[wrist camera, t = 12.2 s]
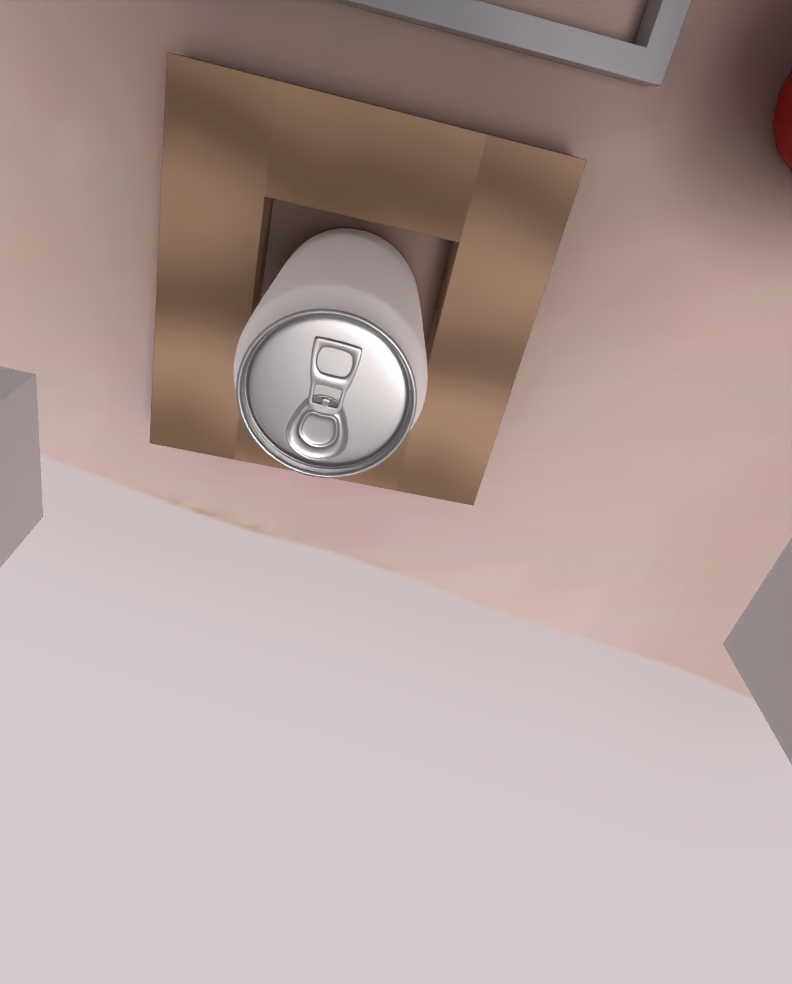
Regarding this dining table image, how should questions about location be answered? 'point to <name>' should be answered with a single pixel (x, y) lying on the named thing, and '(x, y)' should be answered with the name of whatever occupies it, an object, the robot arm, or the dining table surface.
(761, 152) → the dining table surface
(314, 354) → the can
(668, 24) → the tray
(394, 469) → the frame
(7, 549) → the robot arm
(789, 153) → the plastic cup
